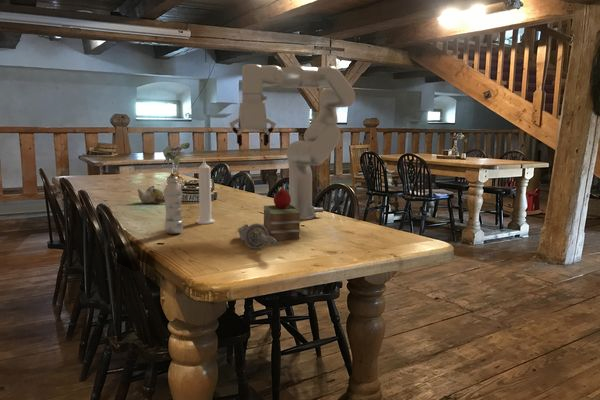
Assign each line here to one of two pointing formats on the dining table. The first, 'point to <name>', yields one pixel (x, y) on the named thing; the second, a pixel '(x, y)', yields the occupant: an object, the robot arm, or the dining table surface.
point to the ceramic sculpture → (151, 195)
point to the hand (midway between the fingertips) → (252, 145)
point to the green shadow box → (282, 222)
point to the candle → (205, 194)
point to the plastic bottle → (173, 206)
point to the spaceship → (256, 236)
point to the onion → (282, 199)
